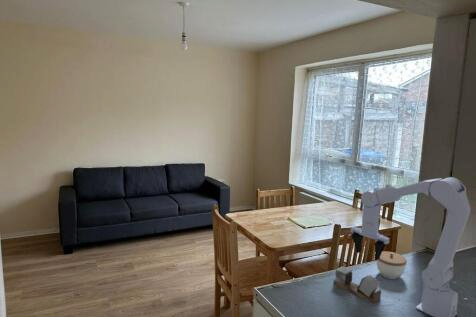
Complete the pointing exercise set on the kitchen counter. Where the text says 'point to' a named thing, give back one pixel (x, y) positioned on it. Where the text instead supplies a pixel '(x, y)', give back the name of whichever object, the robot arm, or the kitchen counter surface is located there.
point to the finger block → (368, 285)
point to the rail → (353, 284)
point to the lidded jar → (391, 264)
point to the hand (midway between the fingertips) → (367, 255)
